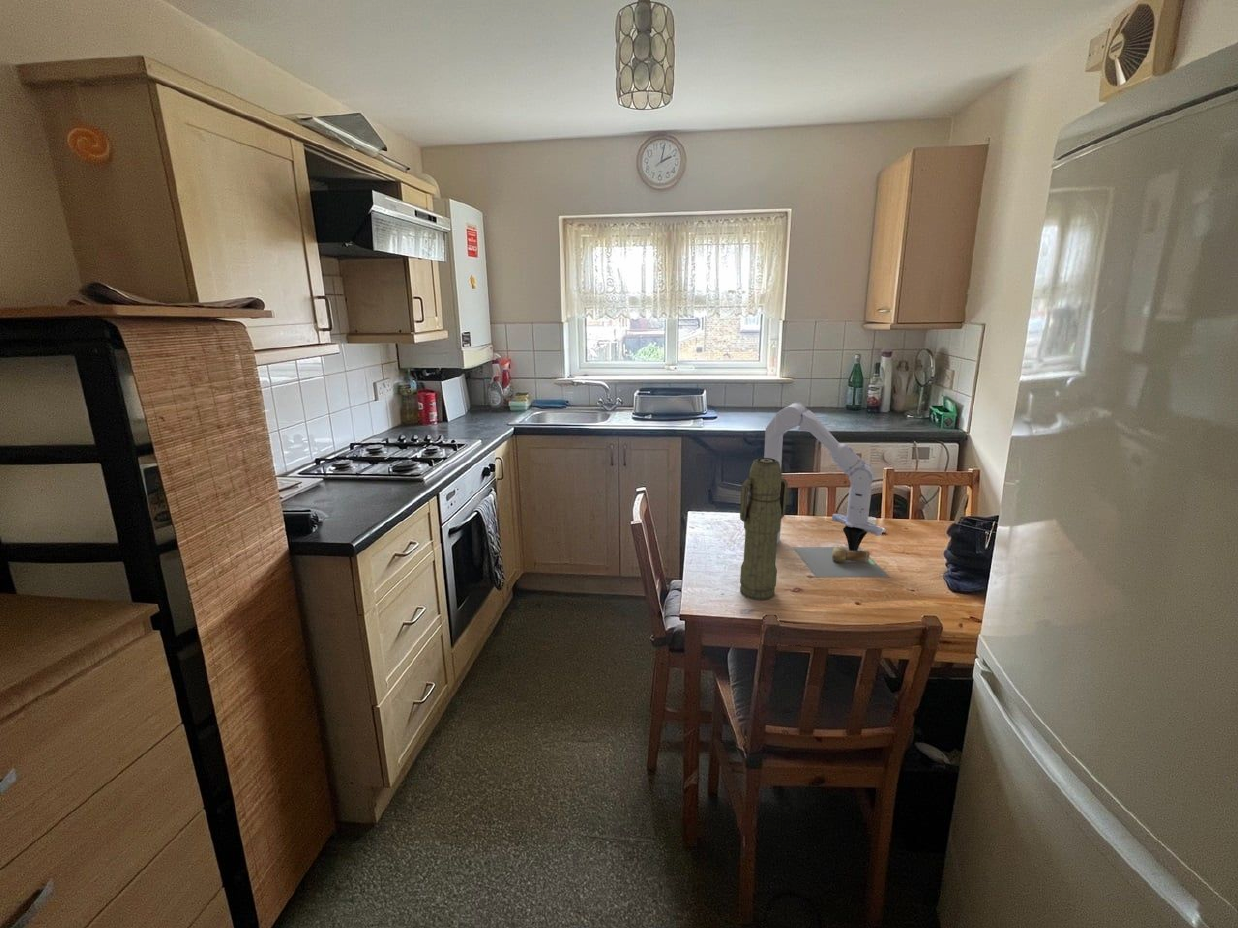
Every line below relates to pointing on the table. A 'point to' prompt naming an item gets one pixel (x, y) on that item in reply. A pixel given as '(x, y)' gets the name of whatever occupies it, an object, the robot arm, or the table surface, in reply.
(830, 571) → the board
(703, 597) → the table surface
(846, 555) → the olive brown knobbed bar
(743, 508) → the olive green tall cylinder
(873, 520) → the teacup and saucer
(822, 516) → the table surface
